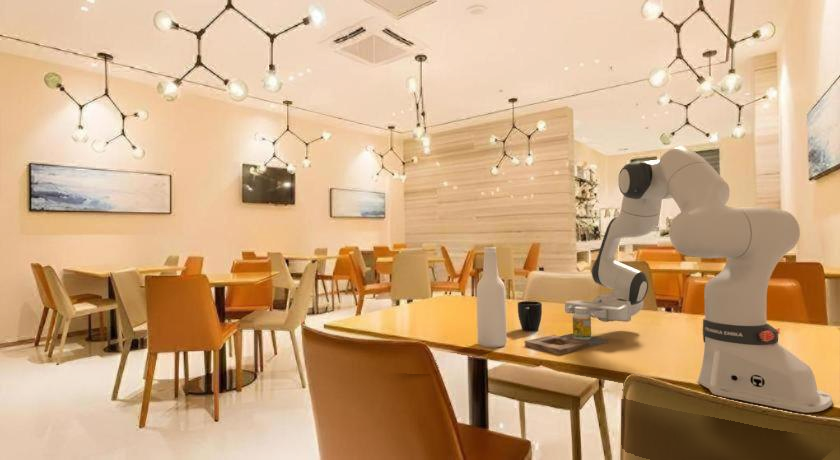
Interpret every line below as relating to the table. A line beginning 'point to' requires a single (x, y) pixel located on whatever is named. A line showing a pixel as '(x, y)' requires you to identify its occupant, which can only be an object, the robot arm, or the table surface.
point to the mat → (592, 341)
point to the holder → (565, 348)
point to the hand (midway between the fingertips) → (579, 312)
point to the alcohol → (491, 304)
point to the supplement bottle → (581, 324)
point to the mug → (530, 315)
